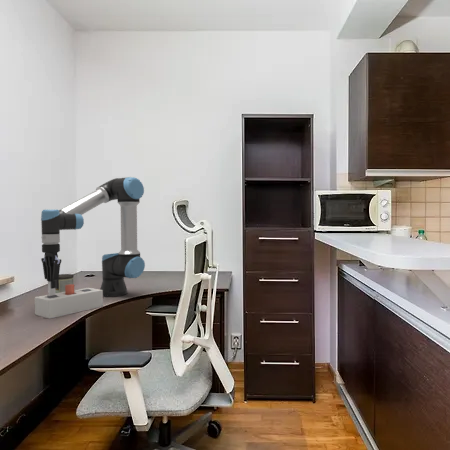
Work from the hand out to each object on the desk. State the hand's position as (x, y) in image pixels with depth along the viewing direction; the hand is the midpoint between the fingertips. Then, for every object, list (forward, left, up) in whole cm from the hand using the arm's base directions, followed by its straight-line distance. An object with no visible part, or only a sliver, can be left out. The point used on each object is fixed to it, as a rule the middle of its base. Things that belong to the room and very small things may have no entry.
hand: (51, 295), depth 187 cm
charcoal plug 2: (-18, 0, -8) cm, 20 cm away
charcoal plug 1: (0, 0, -7) cm, 7 cm away
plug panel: (-9, 0, -9) cm, 13 cm away
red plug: (-9, 0, -4) cm, 10 cm away
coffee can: (-16, -17, -9) cm, 25 cm away
